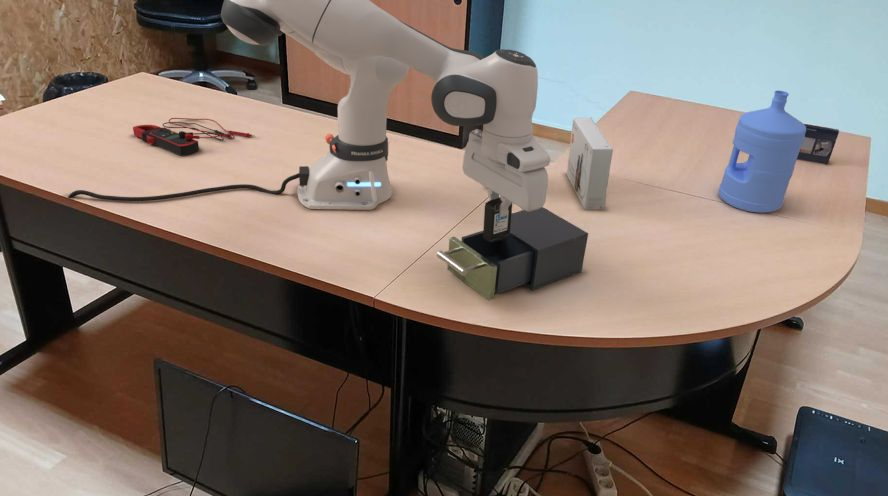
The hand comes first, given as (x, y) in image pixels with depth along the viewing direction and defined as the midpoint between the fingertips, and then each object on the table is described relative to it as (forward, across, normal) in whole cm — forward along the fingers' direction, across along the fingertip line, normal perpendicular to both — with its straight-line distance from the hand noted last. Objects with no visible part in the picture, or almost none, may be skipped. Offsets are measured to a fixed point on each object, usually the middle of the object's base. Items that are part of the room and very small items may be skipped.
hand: (498, 213), depth 139 cm
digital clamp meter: (+15, -100, -24) cm, 104 cm away
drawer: (+14, 0, -3) cm, 14 cm away
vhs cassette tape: (+15, -7, +121) cm, 122 cm away
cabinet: (+15, 0, +11) cm, 19 cm away
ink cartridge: (+6, 0, 0) cm, 6 cm away
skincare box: (+15, -21, +47) cm, 54 cm away
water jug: (+15, +4, +82) cm, 83 cm away
